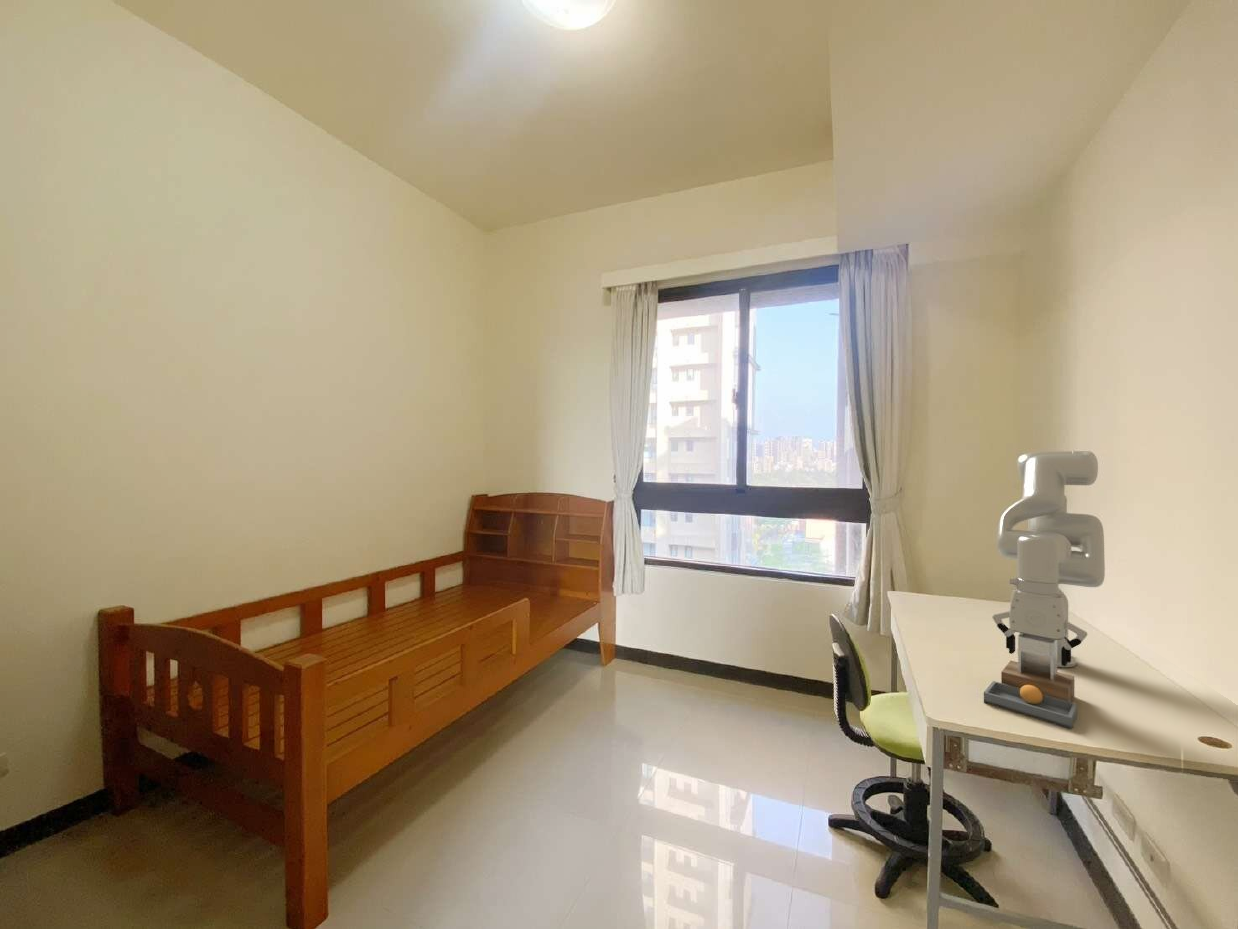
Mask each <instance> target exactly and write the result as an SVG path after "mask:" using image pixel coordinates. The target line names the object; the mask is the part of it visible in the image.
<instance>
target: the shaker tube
mask: <svg viewBox="0 0 1238 929" xmlns="http://www.w3.org/2000/svg"><path fill="white" fill-rule="evenodd" d="M1017 649H1018V653H1017V662H1018V673H1022V671H1023V670H1024V668H1025V667H1027V668H1031V669H1035V670H1039V671H1043V672H1047V673H1051V681H1053V682H1054V680H1055V678H1056V676H1057V672H1058V667H1057V640H1052V639H1047V638H1042V637H1037V636H1032V635H1028V634H1023V633H1019V634H1018V636H1017Z"/></svg>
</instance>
